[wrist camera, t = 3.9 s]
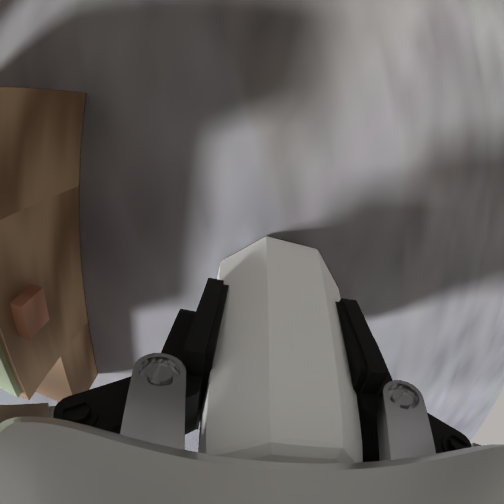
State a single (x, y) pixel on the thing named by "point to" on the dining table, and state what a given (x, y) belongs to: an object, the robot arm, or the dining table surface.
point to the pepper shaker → (280, 363)
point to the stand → (42, 246)
